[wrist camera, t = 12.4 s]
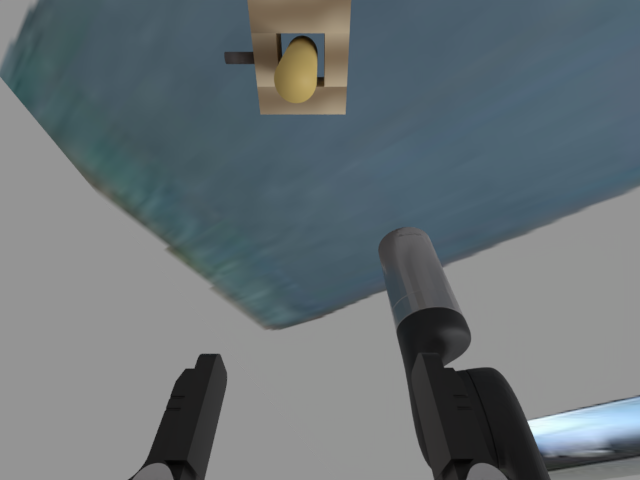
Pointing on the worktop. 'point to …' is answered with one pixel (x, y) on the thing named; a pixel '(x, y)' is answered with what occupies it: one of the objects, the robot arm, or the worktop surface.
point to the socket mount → (266, 27)
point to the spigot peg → (297, 70)
